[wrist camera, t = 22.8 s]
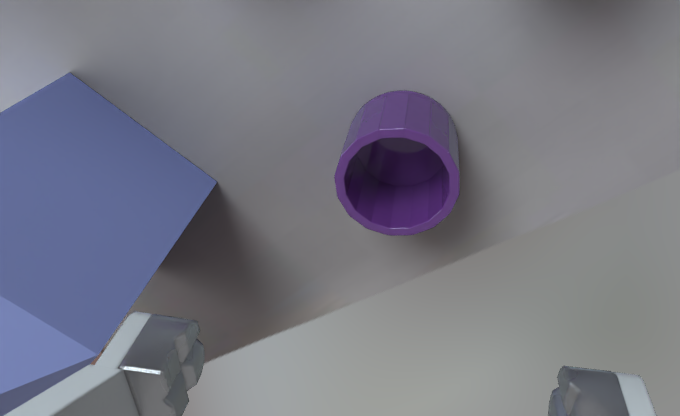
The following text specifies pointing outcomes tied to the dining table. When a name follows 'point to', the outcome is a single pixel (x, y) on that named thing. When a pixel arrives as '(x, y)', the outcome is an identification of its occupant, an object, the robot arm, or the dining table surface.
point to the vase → (79, 229)
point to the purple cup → (399, 164)
